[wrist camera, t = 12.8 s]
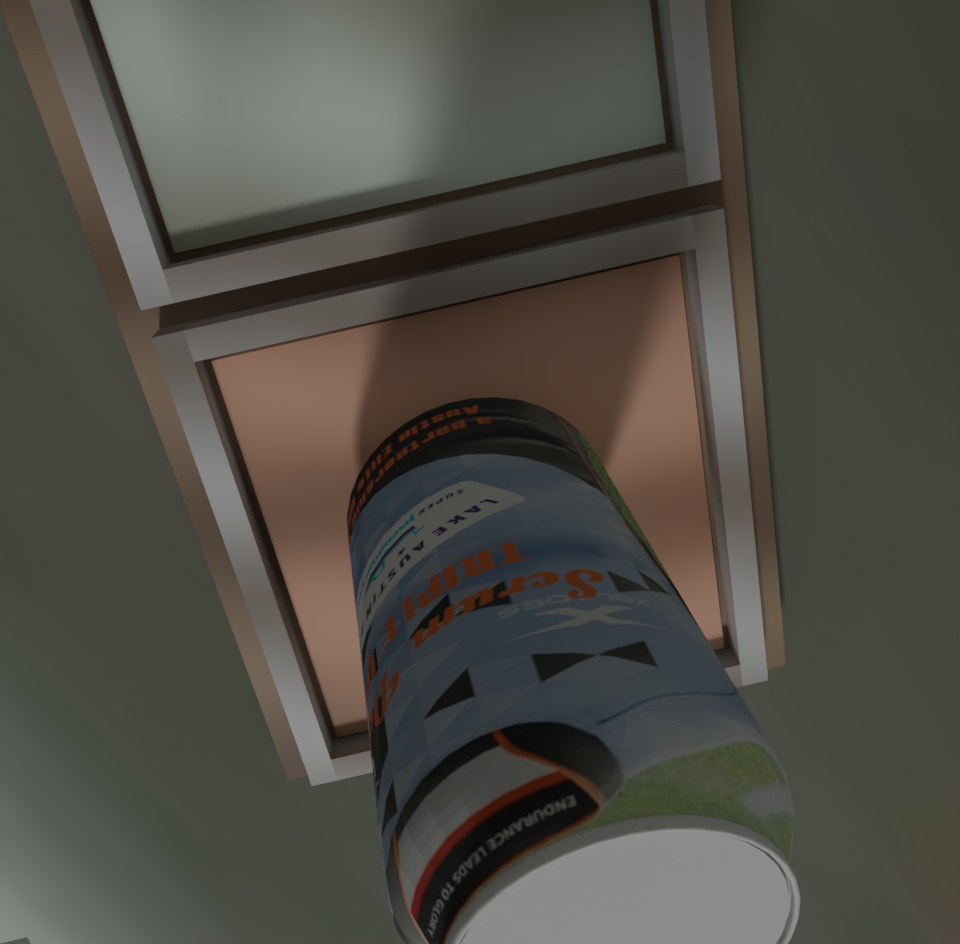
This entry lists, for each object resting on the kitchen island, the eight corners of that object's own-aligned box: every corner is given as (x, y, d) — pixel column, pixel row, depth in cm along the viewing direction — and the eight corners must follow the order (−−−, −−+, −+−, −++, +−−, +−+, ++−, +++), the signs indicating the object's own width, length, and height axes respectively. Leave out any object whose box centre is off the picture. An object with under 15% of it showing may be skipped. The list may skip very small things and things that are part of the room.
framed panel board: (-133, -416, 16) (-200, -482, 14) (656, -586, 16) (692, -674, 14) (292, 751, 26) (285, 801, 24) (768, 641, 26) (798, 682, 24)
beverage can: (481, 323, 20) (597, 601, 9) (681, 528, 23) (956, 935, 12) (288, 506, 22) (193, 941, 11) (498, 682, 24) (596, 1178, 13)
